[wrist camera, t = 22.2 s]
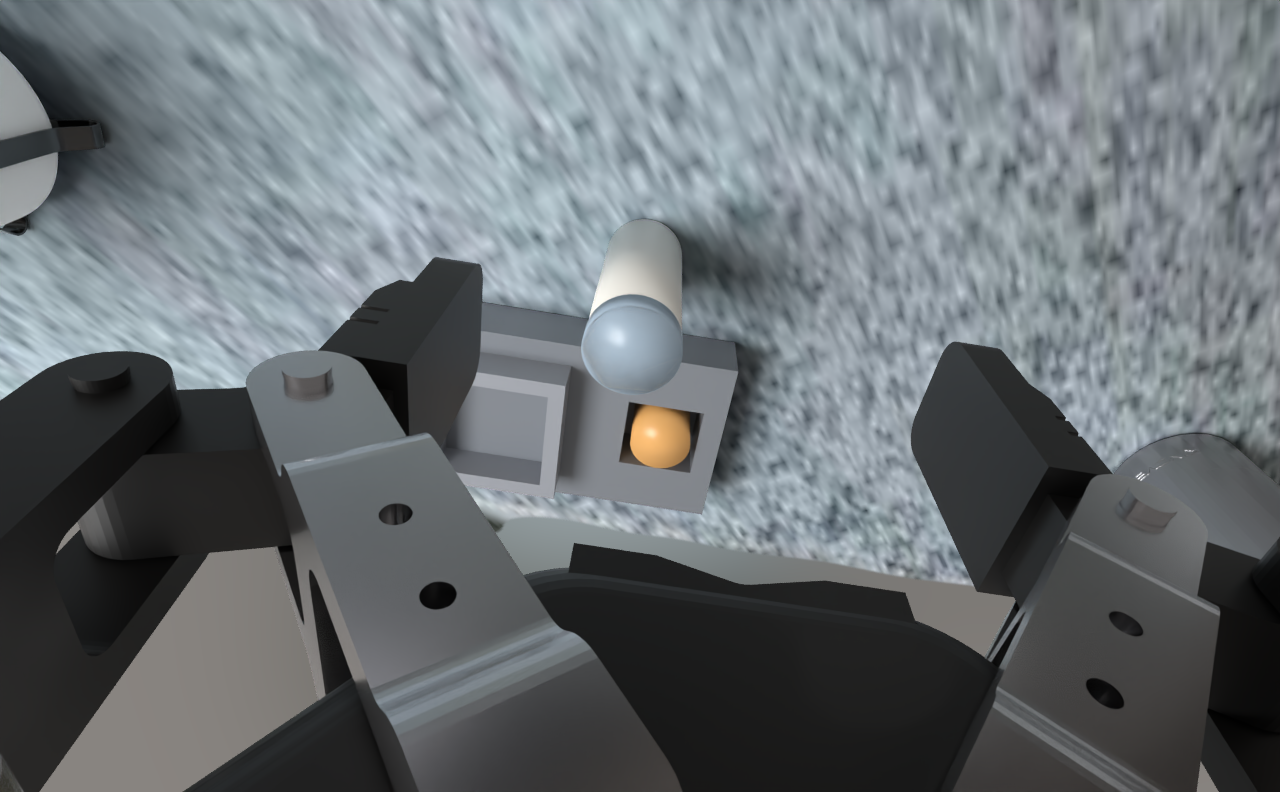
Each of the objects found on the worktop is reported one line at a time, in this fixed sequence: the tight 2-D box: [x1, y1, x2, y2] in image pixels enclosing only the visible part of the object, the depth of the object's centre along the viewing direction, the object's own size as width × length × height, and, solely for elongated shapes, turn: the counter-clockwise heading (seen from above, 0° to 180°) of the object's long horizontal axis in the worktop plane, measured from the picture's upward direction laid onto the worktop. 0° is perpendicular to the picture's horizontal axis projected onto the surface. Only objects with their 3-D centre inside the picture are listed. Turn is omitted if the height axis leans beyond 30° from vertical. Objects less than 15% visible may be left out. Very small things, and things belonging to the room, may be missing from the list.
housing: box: [440, 302, 738, 514], centre depth 48 cm, size 20×12×6 cm, turn 82°
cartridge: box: [581, 219, 683, 395], centre depth 39 cm, size 5×5×13 cm
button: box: [630, 403, 690, 468], centre depth 49 cm, size 4×4×4 cm
